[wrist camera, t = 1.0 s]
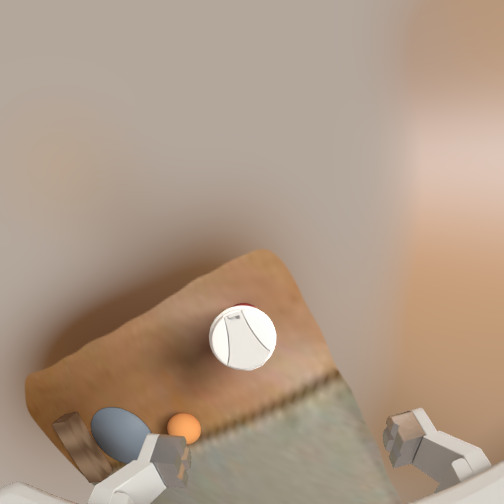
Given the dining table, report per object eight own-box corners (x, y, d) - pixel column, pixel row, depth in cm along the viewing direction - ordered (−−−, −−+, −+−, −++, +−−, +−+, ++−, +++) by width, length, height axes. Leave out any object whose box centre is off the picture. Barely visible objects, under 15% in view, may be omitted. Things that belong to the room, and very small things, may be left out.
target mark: (167, 458, 45) (167, 458, 45) (113, 467, 45) (112, 467, 45) (133, 400, 46) (133, 401, 46) (80, 413, 45) (80, 414, 45)
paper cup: (212, 305, 47) (197, 319, 33) (259, 289, 47) (264, 297, 33) (229, 351, 47) (222, 382, 33) (275, 336, 47) (286, 362, 33)
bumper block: (112, 468, 45) (104, 481, 40) (98, 470, 45) (89, 482, 40) (77, 411, 45) (65, 421, 40) (64, 414, 45) (51, 424, 40)
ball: (208, 429, 46) (204, 445, 40) (180, 437, 46) (173, 453, 40) (194, 404, 46) (188, 418, 41) (165, 412, 46) (157, 426, 40)
